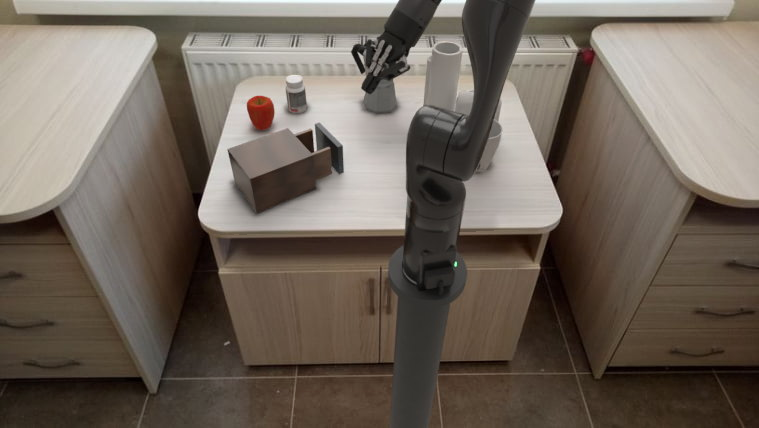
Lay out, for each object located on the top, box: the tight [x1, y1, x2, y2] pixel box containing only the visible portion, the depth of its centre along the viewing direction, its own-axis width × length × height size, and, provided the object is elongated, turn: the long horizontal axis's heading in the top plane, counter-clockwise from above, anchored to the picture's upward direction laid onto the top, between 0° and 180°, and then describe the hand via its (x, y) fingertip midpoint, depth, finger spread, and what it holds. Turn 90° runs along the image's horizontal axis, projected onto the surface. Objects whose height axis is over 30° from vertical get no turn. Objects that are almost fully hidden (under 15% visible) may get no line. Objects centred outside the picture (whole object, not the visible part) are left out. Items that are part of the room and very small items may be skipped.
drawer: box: [293, 122, 345, 181], centre depth 115 cm, size 14×10×7 cm
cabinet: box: [226, 127, 317, 214], centre depth 112 cm, size 14×11×9 cm
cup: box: [476, 120, 504, 173], centre depth 118 cm, size 8×8×10 cm
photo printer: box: [455, 88, 502, 122], centre depth 124 cm, size 10×4×12 cm, turn 85°
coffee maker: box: [350, 36, 398, 115], centre depth 132 cm, size 15×9×18 cm, turn 56°
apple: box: [246, 95, 276, 131], centre depth 128 cm, size 6×6×8 cm
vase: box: [422, 40, 464, 111], centre depth 127 cm, size 11×7×20 cm, turn 1°
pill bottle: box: [285, 74, 308, 114], centre depth 133 cm, size 5×5×8 cm
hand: (365, 91), depth 113 cm, fingers closed
